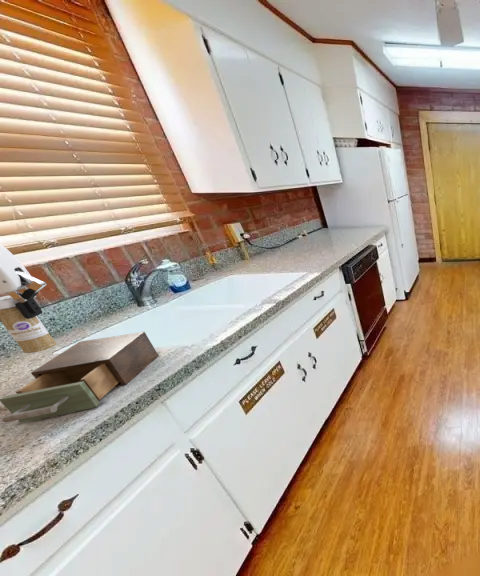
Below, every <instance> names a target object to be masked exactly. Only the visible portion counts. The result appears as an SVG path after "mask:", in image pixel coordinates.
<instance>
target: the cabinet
mask: <svg viewBox="0 0 480 576" xmlns="http://www.w3.org/2000/svg"><path fill="white" fill-rule="evenodd" d="M158 358H159V353H158V352H157V350H156V348H155V346H154V345H153V344H152V342H151V340H150V339H149V336H148V335H147V333H146V332H145V331H140V332H134V333H127V334H121V335H120V334H119V335H115V336H114V335H113V336H107V337H101V338H100V337H99V338H95V339H94V338H93V339H88V340H81V341H79V342H77V343H75V344H74V345H72V346H70V347H69V348H67V349H66V350H64V351H63V352H61V353H59V354H58V355H56V356H54V357H53V358H51V359H50V360H48V361H47V362H45V363H44V364H42V365H41V366H39V367H37V368H35V369H34V370H32V371H31V372H30V374H31V375H32V376H33V377H34V378H35V379H36V378H38V377H39V376H41V375H42V374H44V373H48V372H54V371H59V370H65V369H71V368H76V367H82V366H88V365H93V364H99V363H105V362H107V364H108V365H109V367H110V368H111V369H112V371H113V372H114V374H115V375H116V377H117V378H118V380H119V381H120V382H119V383H118V384H117V385H116V386H115V387H114V388H119V387H123V386H127V385H128V384H129V383H130V382H131V381H133V380H134V379H135V378H136V377H137V376H138V375H139V374H140V373H141V372H143V371H144V370H145V369H146V368H148V366H149V365H150V364H152V363H153V362H154V361H155V360H156V359H158Z"/></svg>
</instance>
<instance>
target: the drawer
mask: <svg viewBox="0 0 480 576" xmlns="http://www.w3.org/2000/svg"><path fill="white" fill-rule="evenodd" d="M119 382H120V381H119V380H118V378H117V377H116V375H115V374H114V372H113V371H112V369H111V368H110V367H109V365H108V364H107V362H105V363H99V364H93V365H88V366H82V367H76V368H71V369H65V370H59V371H54V372H48V373H44V374H42V375H41V376H39V377H38V378H35V379H33V380H31V381H30V382H28V383H27V384H26V385H24V386H23V387H21V388H19V389H18V390H16V391H15V393H14V394H8V395H4V396H2V397H1V398H0V403H1V405H3V406H4V407H5V408H6V410H8V411H9V412H10V414H6V415H4V416H3V417H2V418H1V421H2V422H3V423H10V422H15V421H18V422H19V423H20V424H24V423H28V422H32V421H33V422H34V421H37V420H43V419H47V418H51V417H56V416H60V415H65V414H70V413H74V412H80V411H85V410H88V409H94V408H98V407H99V405H101V402H100V400H102V399H103V398H104V397H105V396H106V395H107V394H109V392H110V391H111V390H113V389H114V388H116V387H115V386H116V385H117V384H118V383H119Z"/></svg>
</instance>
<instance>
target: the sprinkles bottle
mask: <svg viewBox="0 0 480 576" xmlns="http://www.w3.org/2000/svg"><path fill="white" fill-rule="evenodd" d="M16 303H18V302H17V301H16V300H15V299H13V298H12V297H11V296H10V295H4V296H0V322H1V324H2V325H3V326H4V327H5V329H6V330H7V332H8V333H9V334H10V336H11V337H12V338H13V340H14V341H15V342H16V343H17V344H18V346H19V347H20V348H21V350H22V352H23V353H24V354H34V353H39V352H41V351H46V350H49V349H51V348H53V347H54V346H56V345H57V344H58V343H57V341H55V340H54V339H53V337H52V335H51V334H50V333H49V331H48V329H47V328H46V326H45V324H44V323H43V322H42V321H41V319H40V318H39V317H38V316H36V317H33V318H30V319H27V318H25V317H24V316H23V315H22V313H21V312H20V311H19V309H18V308H17V307H16V306H15V304H16Z"/></svg>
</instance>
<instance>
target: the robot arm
mask: <svg viewBox="0 0 480 576" xmlns="http://www.w3.org/2000/svg"><path fill="white" fill-rule="evenodd" d="M47 285H48V283H47V282H45V281H43V280H41V279H39V278H37V277H34V276H32V275H31V274H30V272H29V271H28V270H27V268H26V267H25V266H24V265H23V263H21V261H20V260H19V259H18V258H17V257H16V256H15V254H13V253H12V252H11V251H10V250H9V249H8V248H7V247H6V246H4V245H3V244H2V243H0V294H7V296H11V297H12V298H13V299H15V300H16V301H17V302H18V303H16V304H15V306H16V307H17V308H18V309H19V311H20V312H21V313H22V315H23V316H24V317H25V318H27V319H30V318H33V317H36V316H37V317H38V316H40V315H41V314H43V310H42V308H41V307H40V305H39V304H38V302H36V300H35V298H37V295H38V294H39V292H40V290H42V289H44V287H46V286H47ZM27 286H29V287H27Z"/></svg>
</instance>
